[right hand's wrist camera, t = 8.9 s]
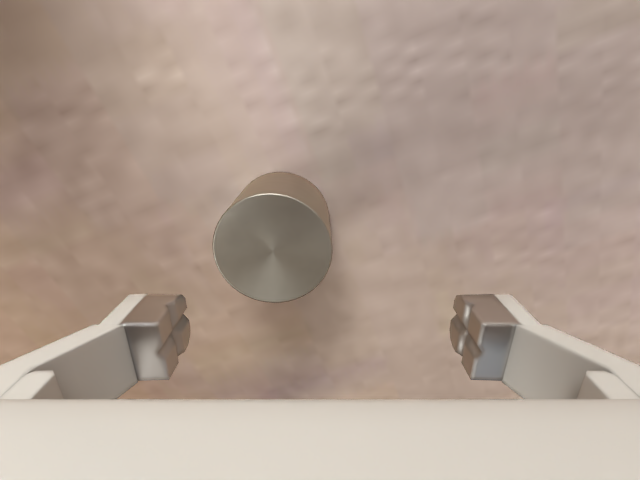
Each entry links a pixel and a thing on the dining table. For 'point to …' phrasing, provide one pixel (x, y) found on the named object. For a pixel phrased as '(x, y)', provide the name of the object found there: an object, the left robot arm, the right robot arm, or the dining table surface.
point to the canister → (275, 239)
